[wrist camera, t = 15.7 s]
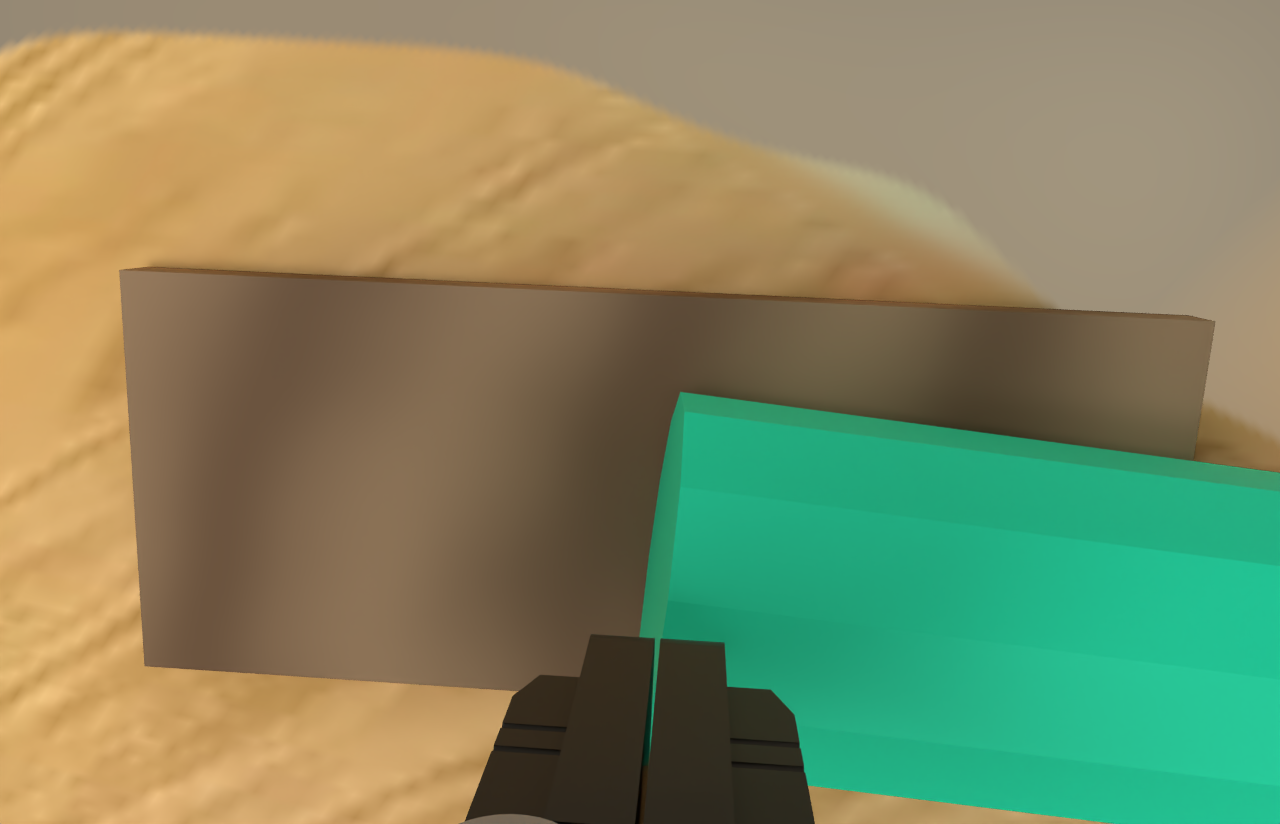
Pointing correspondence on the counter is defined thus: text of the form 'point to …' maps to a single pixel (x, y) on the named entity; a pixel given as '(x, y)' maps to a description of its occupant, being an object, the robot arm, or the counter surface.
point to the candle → (982, 610)
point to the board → (526, 446)
